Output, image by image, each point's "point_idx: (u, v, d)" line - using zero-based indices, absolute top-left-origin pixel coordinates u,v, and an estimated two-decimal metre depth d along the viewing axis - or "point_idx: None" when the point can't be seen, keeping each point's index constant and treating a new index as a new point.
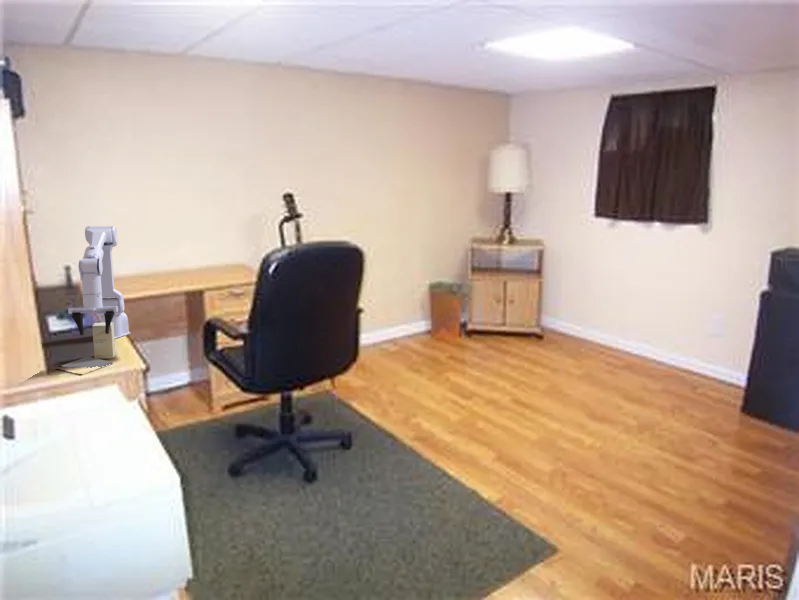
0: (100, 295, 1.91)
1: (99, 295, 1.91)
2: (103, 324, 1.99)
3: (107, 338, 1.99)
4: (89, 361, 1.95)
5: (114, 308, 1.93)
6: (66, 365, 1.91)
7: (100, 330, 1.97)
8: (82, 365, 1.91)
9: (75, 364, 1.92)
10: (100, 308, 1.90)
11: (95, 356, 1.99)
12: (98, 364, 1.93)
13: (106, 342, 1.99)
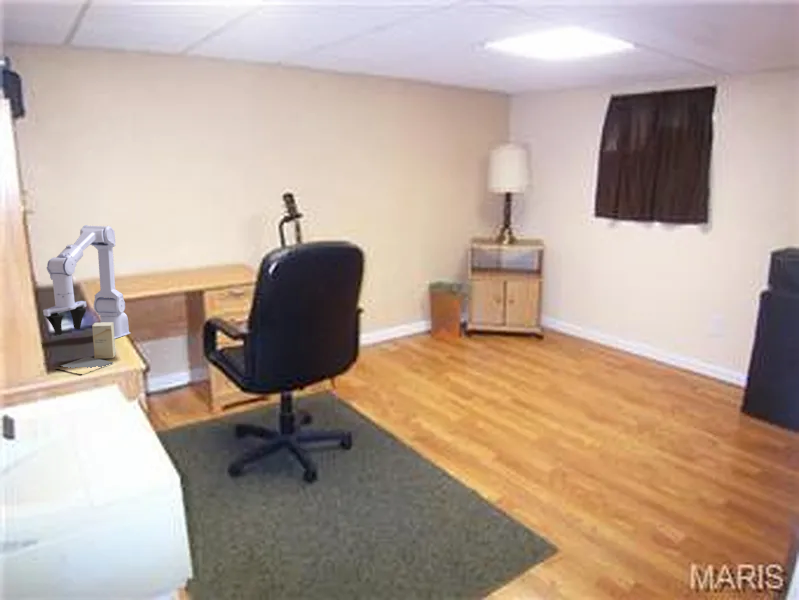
0: None
1: (73, 293, 1.93)
2: (103, 324, 1.98)
3: (107, 338, 1.98)
4: (89, 361, 1.95)
5: (84, 303, 1.98)
6: (66, 365, 1.91)
7: (100, 330, 1.97)
8: (82, 365, 1.91)
9: (75, 364, 1.92)
10: (77, 305, 1.94)
11: (95, 356, 1.99)
12: (98, 364, 1.93)
13: (106, 342, 1.99)
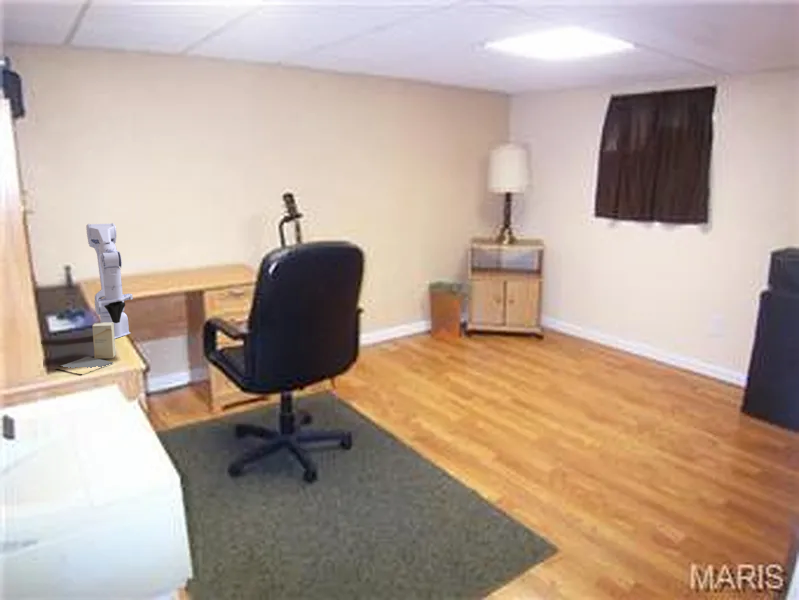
0: None
1: (121, 286, 2.05)
2: (103, 324, 1.99)
3: (107, 338, 1.99)
4: (89, 361, 1.95)
5: (131, 296, 2.10)
6: (66, 365, 1.91)
7: (100, 330, 1.97)
8: (82, 365, 1.91)
9: (75, 364, 1.92)
10: (124, 298, 2.06)
11: (95, 356, 1.99)
12: (98, 364, 1.93)
13: (106, 342, 1.99)
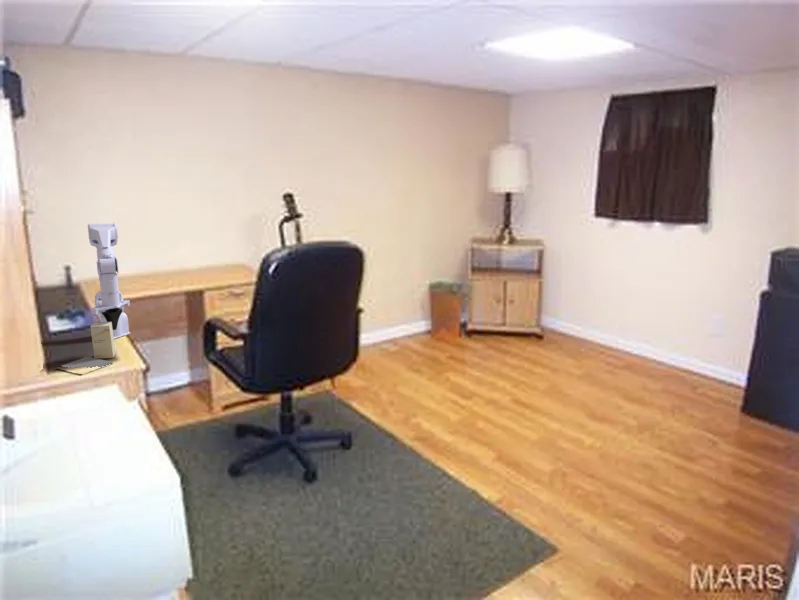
0: None
1: (118, 292, 2.02)
2: (101, 324, 1.98)
3: (106, 338, 1.98)
4: (89, 361, 1.95)
5: (128, 302, 2.07)
6: (66, 365, 1.91)
7: (98, 330, 1.97)
8: (82, 365, 1.91)
9: (75, 364, 1.92)
10: (121, 304, 2.03)
11: (95, 356, 1.99)
12: (98, 364, 1.93)
13: (105, 342, 1.98)
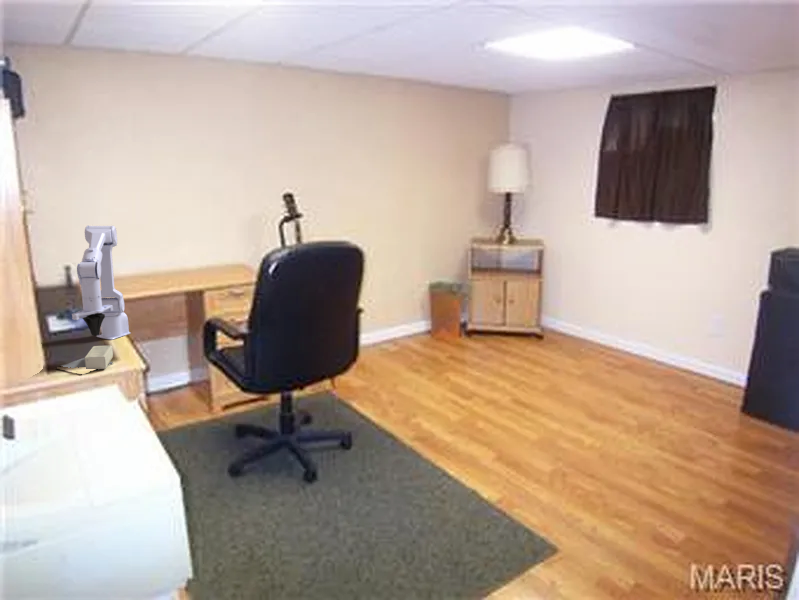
0: None
1: None
2: (96, 364, 1.88)
3: None
4: None
5: (111, 307, 2.00)
6: (66, 365, 1.91)
7: None
8: (82, 365, 1.91)
9: (75, 364, 1.92)
10: (104, 309, 1.96)
11: None
12: None
13: None
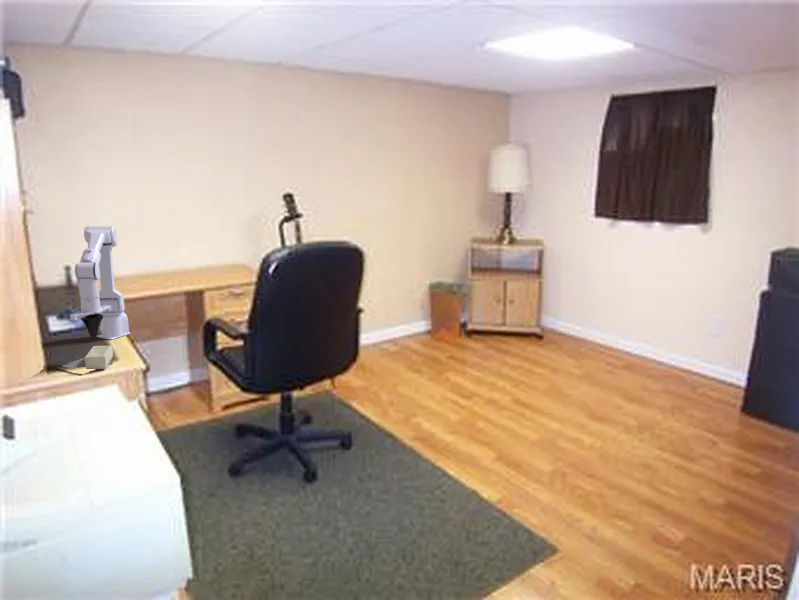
0: None
1: (99, 297, 1.95)
2: (96, 364, 1.88)
3: None
4: None
5: (109, 307, 2.00)
6: (66, 365, 1.91)
7: None
8: (82, 365, 1.91)
9: (75, 364, 1.92)
10: (102, 310, 1.96)
11: None
12: None
13: None
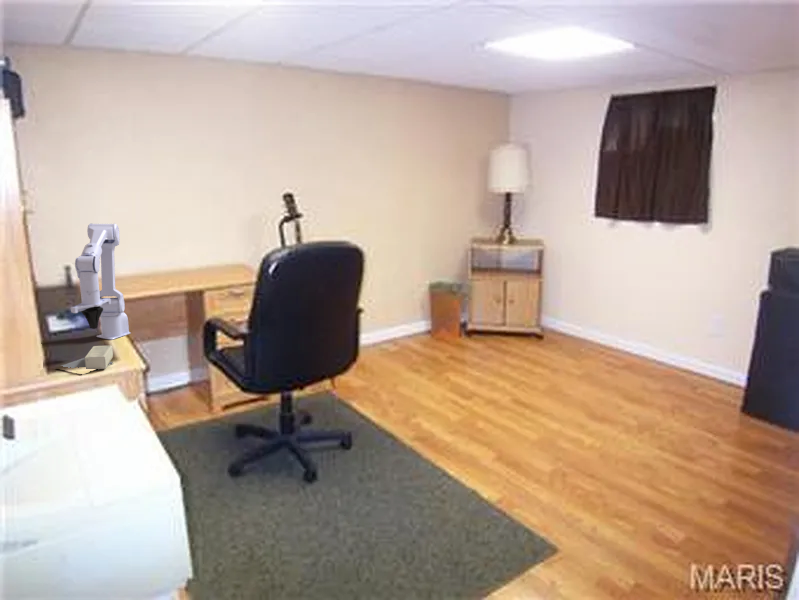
0: None
1: None
2: (96, 364, 1.88)
3: None
4: None
5: (109, 300, 2.04)
6: (66, 365, 1.91)
7: None
8: (82, 365, 1.91)
9: (75, 364, 1.92)
10: (102, 302, 2.00)
11: None
12: None
13: None
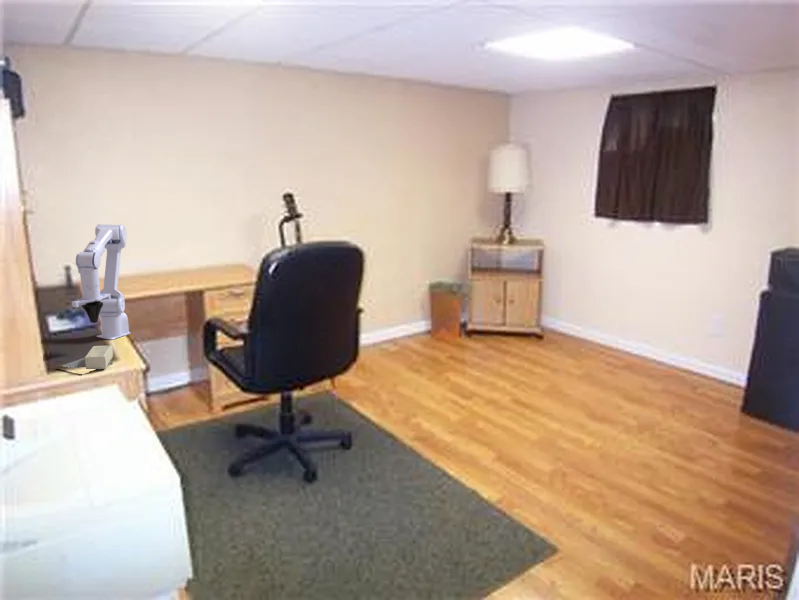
0: None
1: None
2: (96, 364, 1.88)
3: None
4: None
5: (109, 295, 2.10)
6: (66, 365, 1.91)
7: None
8: (82, 365, 1.91)
9: (75, 364, 1.92)
10: (102, 297, 2.06)
11: None
12: None
13: None
